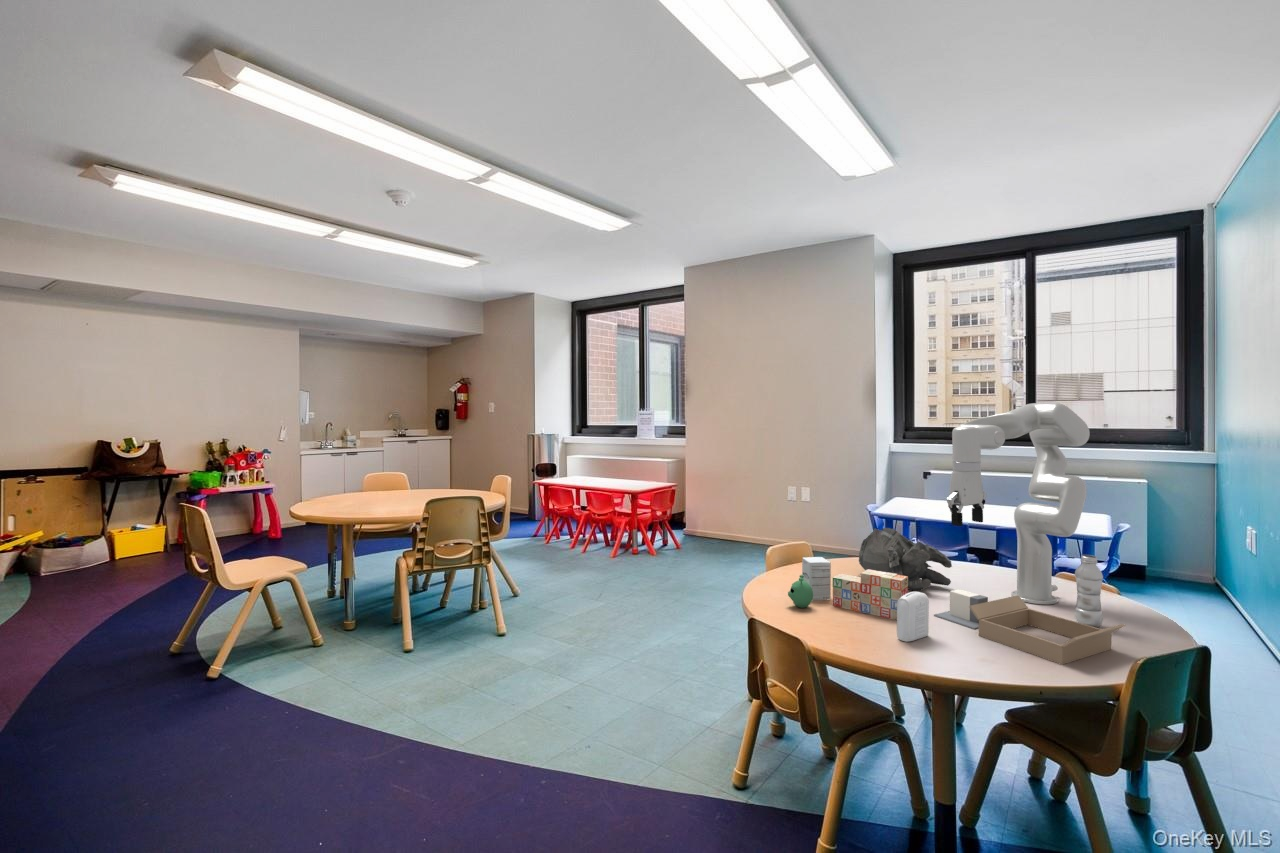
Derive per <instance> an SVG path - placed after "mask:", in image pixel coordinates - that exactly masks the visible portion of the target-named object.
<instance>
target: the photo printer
mask: <svg viewBox="0 0 1280 853" xmlns="http://www.w3.org/2000/svg"><path fill="white" fill-rule="evenodd" d="M929 602H930V599H929V597H928V595H927V594H926V593H925V592H921V591H910V592H908V593H907V594H905V595H903V596H902V597H901V598H900V599H899V600H898V602H897V620H896V637H897V639H898V640H900V641H903V642H906V643H907V642H914V641H916V640H919V639H922V638H925V637H927V636H928V635H929V632H930V631H929V628H930V626H929V625H930V624H929V623H930V622H929V619H930V618H929V616H930V615H929V614H930V612H929V611H930V610H929V608H930V603H929Z"/></svg>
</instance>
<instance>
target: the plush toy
mask: <svg viewBox="0 0 1280 853" xmlns="http://www.w3.org/2000/svg"><path fill="white" fill-rule="evenodd" d="M872 529H873V530H872V532H870V533H869V534H868V535H867V537H866V538H864V539H863V540H862V543H861V544H860V549H859V552H858V562H859V565H860V566H861V567H862V569H863V570H864V571H866V570H867V569H869V570H875V571H881V572H889V573H895V574H897V575H902V576H908V590H911V591H912V590H913V591H912V592H921V591H923V590H925V589H927V588H929V587H931V584H933V585H940V586H950V584H951V583H952V581H951V579H950V578H948V577H946V576H945V575H943V573H941V572H939V571H936V570H934V569H931V568H932V566H931V565H930V564H928V562H933V563H938V564H941V565H942V566H943V567H944V568H949V569H950V568H952V567H953V565H952V561H951V560H950V558H948V557H947V556H946V554H944V553H942V552H941V551H940V550H938V549H937V548H935V547H934V546H931V545H929V544H924V543H922V542H920V541H918V540H917V542H913V541H912V540H911V539H909V538H907V537H906V536H905V535H903V534H901V533H900V532H899V531H897V530H895V529H894V528H891V527H882V528H881V529H878V528H872Z"/></svg>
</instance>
